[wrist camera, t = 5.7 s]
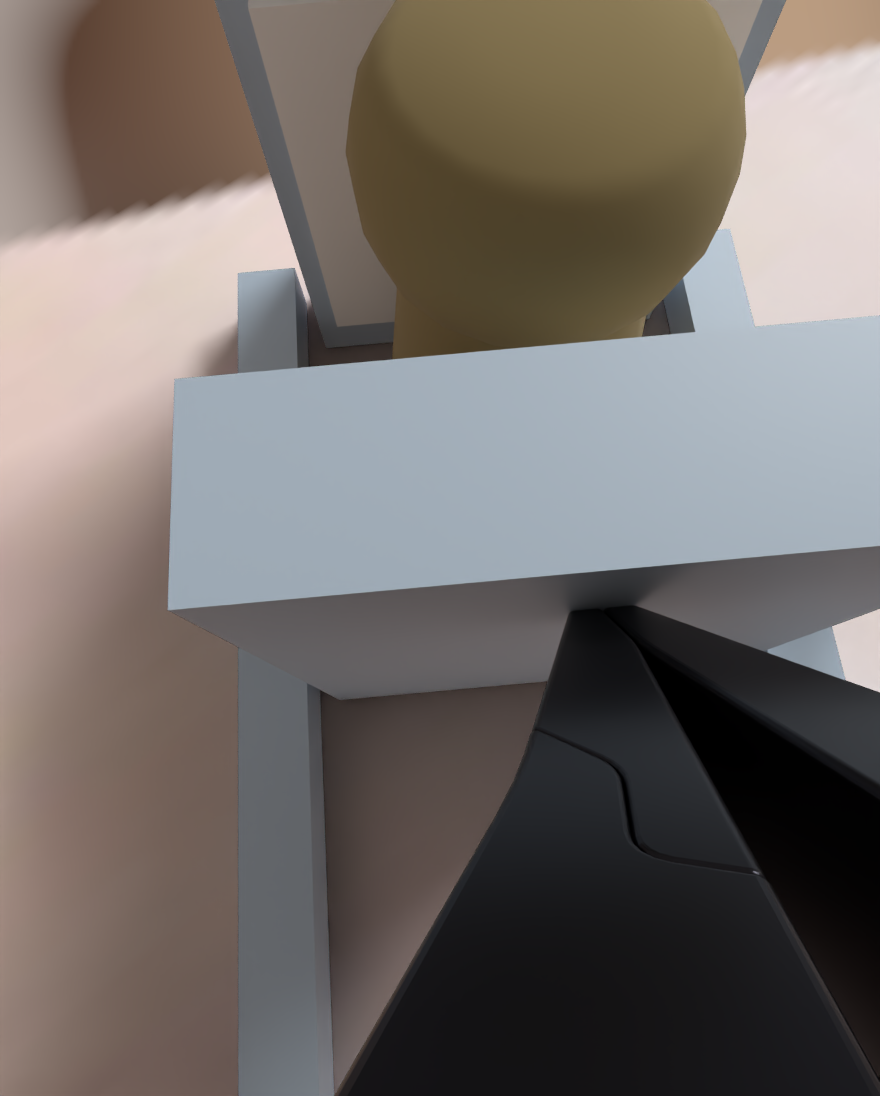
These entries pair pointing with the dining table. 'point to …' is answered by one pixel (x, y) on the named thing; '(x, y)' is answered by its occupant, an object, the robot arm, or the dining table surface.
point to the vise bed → (282, 343)
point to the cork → (541, 164)
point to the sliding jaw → (527, 501)
